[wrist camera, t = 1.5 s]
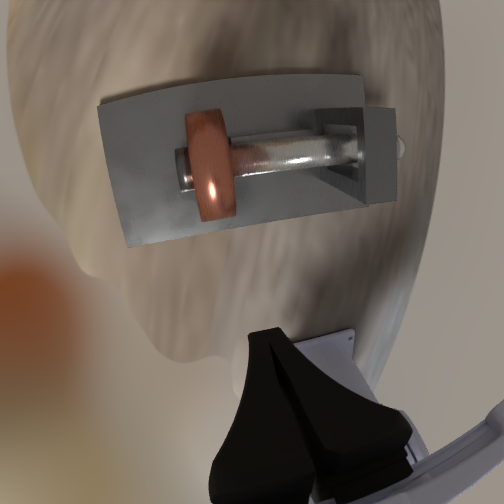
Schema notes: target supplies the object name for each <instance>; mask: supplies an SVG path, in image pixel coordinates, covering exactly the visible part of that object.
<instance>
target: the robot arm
mask: <svg viewBox="0 0 504 504" xmlns="http://www.w3.org/2000/svg"><path fill="white" fill-rule="evenodd" d="M349 337H350V338H349ZM354 339H355V331H354V330H353V329H347V330H344V331H340V332H337V333H333V334H329V335H325V336H322V337H318V338H314V339H310V340H306V341H302V342H298V343H294V344H293V343H292V342H291V341H290V340H289V338H288V337H287V336H286V335H285V334H284V332H283V331H282V330H281V328H279V327H276V328H271V329H267V330H262V331H257V332H252V333H249V335H248V341H249V360H248V369H247V375H246V380H245V385H244V390H243V394H242V397H241V401H240V404H239V407H238V410H237V413H236V416H235V419H234V421H233V424H232V426H231V428H230V430H229V432H228V434H227V437H226V439H225V441H224V443H223V445H222V447H221V448H220V450H219V452H218V453H217V455H216V457H215V459H214V460H213V463H212V467H211V471H210V476H209V496H210V500H211V503H213V504H447V503H448V502H450V501H451V500H453V499H454V498H456V497H457V496H459V495H460V494H462V493H463V492H464V491H466V490H467V489H468V488H470V487H471V486H473V485H474V484H475V483H477V482H478V481H479V480H481V479H482V478H483V477H484V476H486V475H487V474H488V473H489V472H491V471H492V470H493V469H494V468H495V467H496V466H498V465H499V464H500V463H501V462H502V461H503V460H504V400H503V401H501V402H500V403H499V404H498V405H496V406H495V407H494V408H493V409H492V410H491V411H490V412H489V414H488V415H487V416H486V418H485V420H483V421H482V422H480V423H479V424H478V425H476V426H475V427H474V428H472V429H471V430H469V431H468V432H466V433H465V434H463V435H462V436H460V437H459V438H457V439H456V440H454V441H453V442H451V443H449V444H448V445H446V446H445V447H443V448H441V449H440V450H438V451H436V452H435V453H433V454H431V455H429V452H428V450H427V448H426V446H425V444H424V441H423V440H422V438H421V436H420V434H419V433H418V431H417V429H416V427H415V426H414V424H413V423H412V421H411V420H410V418H409V417H408V416H407V414H406V413H405V412H404V411H402V410H397V409H392V408H389V407H386V406H383V405H382V404H379V402H378V401H377V399H376V397H375V396H374V394H373V392H372V391H371V389H370V387H369V385H368V384H367V382H366V380H365V379H364V377H363V375H362V374H361V372H360V371H359V369H358V367H357V366H356V364H355V362H354V361H353V359H352V353H353V346H354Z"/></svg>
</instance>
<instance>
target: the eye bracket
mask: <svg viewBox="0 0 504 504" xmlns="http://www.w3.org/2000/svg"><path fill="white" fill-rule="evenodd" d="M216 108H220V109H221V112H222V115H223V118H224V123H225V127H226V132H227V137H228V143H229V145H233V144H241V143H248V142H256V141H264V140H273V139H283V138H294V137H305V136H319V135H336V134H357V148H358V163H351V164H339V165H329V166H319V167H309V168H300V169H292V170H284V171H276V172H268V173H261V174H254V175H247V176H241V177H234V184H235V193H236V207H237V214H236V217H231V218H225V219H219V220H213V221H208V222H202V221H201V218H200V214H199V209H198V205H197V200H196V195H195V190H191V191H186V192H182V191H181V188H180V185H179V180H178V175H177V169H176V162H175V149H177V148H182V147H187V146H188V145H187V137H186V128H185V113H191V112H196V111H202V110H209V109H216ZM97 110H98V117H99V124H100V130H101V136H102V141H103V147H104V152H105V157H106V162H107V167H108V172H109V177H110V181H111V186H112V190H113V194H114V198H115V202H116V207H117V210H118V214H119V218H120V222H121V226H122V229H123V233H124V237H125V240H126V244H127V247H128V248H130V247H135V246H140V245H145V244H150V243H155V242H160V241H166V240H171V239H176V238H182V237H187V236H192V235H198V234H203V233H209V232H214V231H220V230H225V229H231V228H237V227H243V226H248V225H254V224H260V223H266V222H272V221H278V220H284V219H290V218H296V217H303V216H309V215H315V214H322V213H328V212H335V211H341V210H348V209H355V208H362V207H369V204H376V203H383V202H391V201H396V197H397V132H396V113H395V108H374V107H366V102H365V91H364V81H363V75H346V74H279V75H262V76H249V77H239V78H229V79H221V80H213V81H206V82H200V83H193V84H187V85H182V86H176V87H171V88H166V89H161V90H157V91H152V92H148V93H143V94H139V95H135V96H131V97H127V98H124V99H120V100H116V101H113V102H109V103H106V104H102V105H99V106H97Z"/></svg>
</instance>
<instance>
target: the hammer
mask: <svg viewBox="0 0 504 504" xmlns="http://www.w3.org/2000/svg"><path fill="white" fill-rule="evenodd" d="M185 128H186V137H187V145H188V146H187V147H182V148H177V149H175V162H176V169H177V175H178V180H179V185H180V188H181V191H182V192H186V191H191V190H195V195H196V200H197V205H198V209H199V214H200V218H201V221H202V222H208V221H213V220H219V219H225V218H231V217H236V214H237V207H236V193H235V184H234V177H241V176H247V175H254V174H261V173H268V172H276V171H284V170H292V169H300V168H309V167H319V166H329V165H339V164H351V163H358V148H357V134H336V135H319V136H305V137H294V138H283V139H273V140H264V141H256V142H248V143H241V144H233V145H229V143H228V137H227V132H226V127H225V123H224V118H223V115H222V112H221V109H220V108H216V109H209V110H202V111H196V112H191V113H185ZM405 150H406V146H405V142H404V140H403V139H402V138H401V137H400V136H399V135H397V160H399V159H400V158H402V157H403V155H404V154H405Z"/></svg>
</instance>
